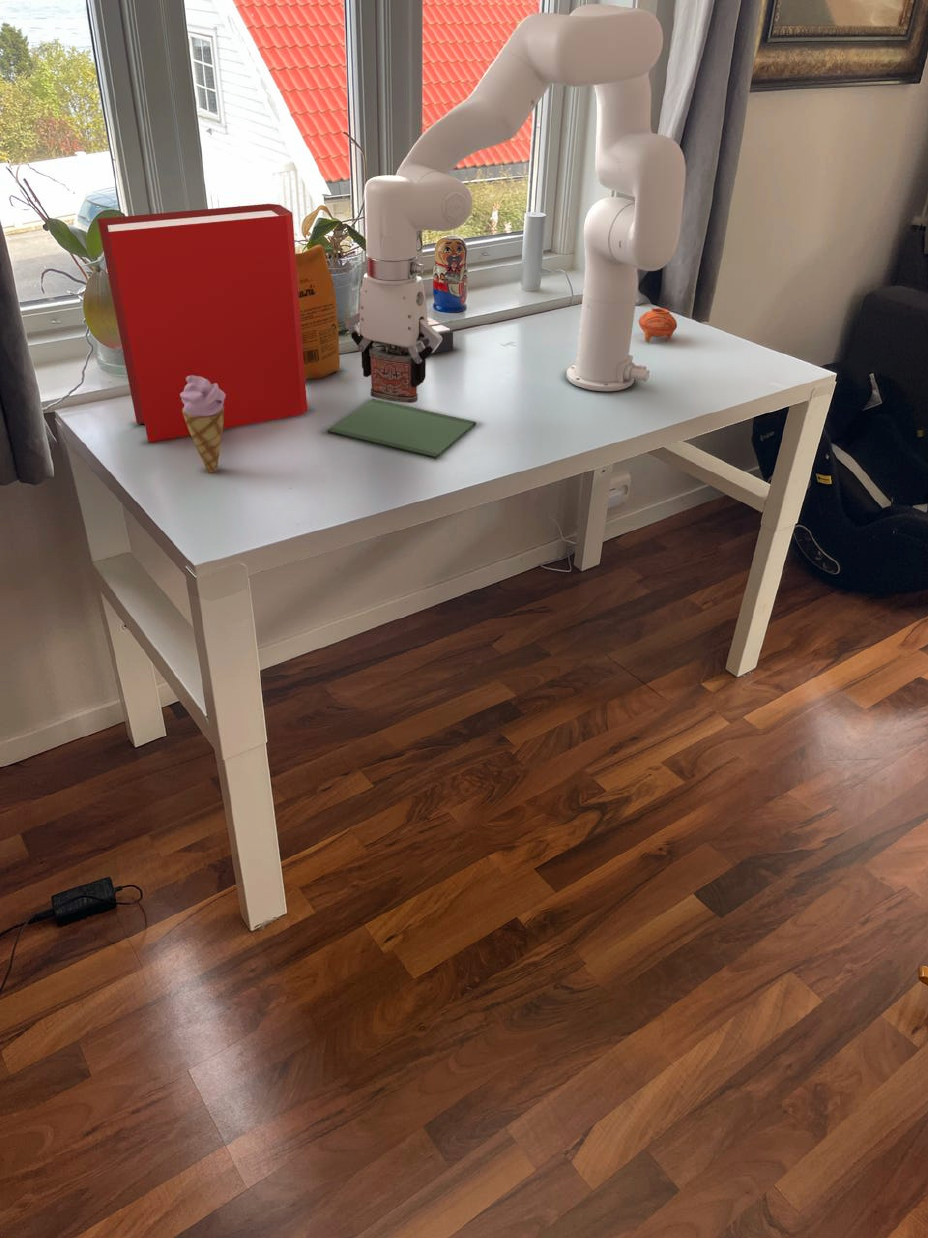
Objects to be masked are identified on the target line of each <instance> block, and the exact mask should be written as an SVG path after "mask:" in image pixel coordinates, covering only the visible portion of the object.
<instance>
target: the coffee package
mask: <svg viewBox="0 0 928 1238" xmlns="http://www.w3.org/2000/svg"><path fill="white" fill-rule="evenodd" d="M295 253H296V266H297V279H298V292H299V305H300V318H301V331H302V344H303V357H304V370H305V380H308V379H322V378H325V377H326V376H327V377H328V376H329V375H331V374H333V373H335V372H338V371H339V370H340V369H341V368H340V367H341V366H340V364H341V363H340V362H341V361H340V339H339V319H338V305H337V304H338V303H337V296H336V289H335V284H334V281H333V278H332V273H331V271H330V269H329V264H328V259H327V257H326V256H327V255H326V253H325V250H324V247H323V245H322V244H316V245H314V246H312V247H311V248H309V249H307V250H305V251H303V252H300V253H297V252H295Z"/></svg>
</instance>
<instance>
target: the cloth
mask: <svg viewBox="0 0 928 1238" xmlns="http://www.w3.org/2000/svg"><path fill="white" fill-rule="evenodd" d="M476 424H477V422H476V421H474V420H469V419H466V418H460V417H457V416H451V415H447V414H442V413H439V412H434V411H429V410H424V409H421V408H416V407H412V406H407V405H403V404H398V403H393V402H390V401H386V400H381V399H377V398H372V399H371V400H369V401H368V402H367V403H365V404H364V405H362V406H361V407H359V408H358V409H356V410H355V411H353V412H352V413H350V414H349V415H348V416H346V417H345V418H344V419H342V420H341V421H339V422H338V423H336V424H334V425H333V426H332V427H330V428H328V430H326V431H327V432H326V433H327V434H331V435H336V436H338V437H339V436H340V437H343V438H349V439H352V440H356V441H359V442H364V443H369V444H372V445H377V446H381V447H386V448H389V449H393V450H396V451H397V450H398V451H402V452H405V453H410V454H414V455H417V456H423V457H425V458H430V459H435V460H436V459H438V457H440V456H441V455H443V454H444V452H446V451H447V450H448V449H449V448H450V447H451V446H452V445H453V444H455V443H456V442H457V441H458V440H459V439H460V438H462V437H463V436H464V435H465V434H466V433H468V431H470V430H471V429H472V428H474V426H475V425H476Z"/></svg>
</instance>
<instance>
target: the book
mask: <svg viewBox="0 0 928 1238" xmlns="http://www.w3.org/2000/svg"><path fill="white" fill-rule="evenodd" d="M293 215H294V214H293V212H292V211H291V210H289V209H288V208H286V207H284V205H281V204H276V203H262V204H252V205H251V204H250V205H249V204H248V205H239V206H227V207H216V208H205V209H194V210H193V209H192V210H182V211H181V210H180V211H169V212H160V213H149V214H146V213H145V214H137V215H136V214H135V215H125V216H114V217H112V216H111V217H102V218H97V225H98V229H99V236H100V240H101V245H102V252H103V256H104V261H105V266H106V271H107V277H108V282H109V287H110V292H111V298H112V302H113V308H114V312H115V313H114V314H115V318H116V323H117V328H118V334H119V339H120V345H121V349H122V355H123V360H124V365H125V369H126V370H125V371H126V375H127V380H128V385H129V392H130V395H131V401H132V406H133V412H134V417H135V421H136V424H137V425H139V424H144V428H145V432H146V433H145V434H146V438H147V443H148V444H150V443H155V442H160V441H166V440H171V439H178V438H182V437H188V436H191V434H190V432H189V429H188V426H187V424H186V421H185V418H184V415H183V412H182V409H183V407H184V403H183V402H182V399H181V397H180V393H182V392H183V391H184V388H185V386H186V385H187V384H188V382H187V381H186V378H187V377H188V376H192V375H194V376H198V377H203V378H205V379H207V380H208V381H209V382H210V384H215V383H217V384H218V387H219V389H220V390H222V391H223V392H224V393H225V395H226V397H225V399H224V403H223V405H224V420H223V430H227V429H231V428H237V427H242V426H248V425H253V424H259V423H264V422H270V421H274V420H281V419H285V418H291V417H296V416H297V417H298V416H302V415H304V414H305V413H306V412H308V399H307V397H308V396H307V385H306V379H305V370H304V357H303V344H302V331H301V318H300V305H299V292H298V279H297V266H296V253H297V252H296V242H295V229H294V216H293Z"/></svg>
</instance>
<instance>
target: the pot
mask: <svg viewBox="0 0 928 1238" xmlns="http://www.w3.org/2000/svg"><path fill="white" fill-rule="evenodd" d="M638 325H639V327H640V329H641V331H643V332H644V340H645V342H646V343H649V342H650V340H651V337H653V338H662V337H667V338H666V341H669V340H671V338H672V336H673V334H674V333H675V330H677V328H678V323H677V320H676V319H675V317H674V316H673V315H672V314H671V313H670V311H669V310H668V309H666V308H662V307H656V308H655V307H654V308H653V307H652V308H651V310H649V311H647V312H645V313H643V314H642V315H641V316H640V317H639V319H638Z"/></svg>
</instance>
